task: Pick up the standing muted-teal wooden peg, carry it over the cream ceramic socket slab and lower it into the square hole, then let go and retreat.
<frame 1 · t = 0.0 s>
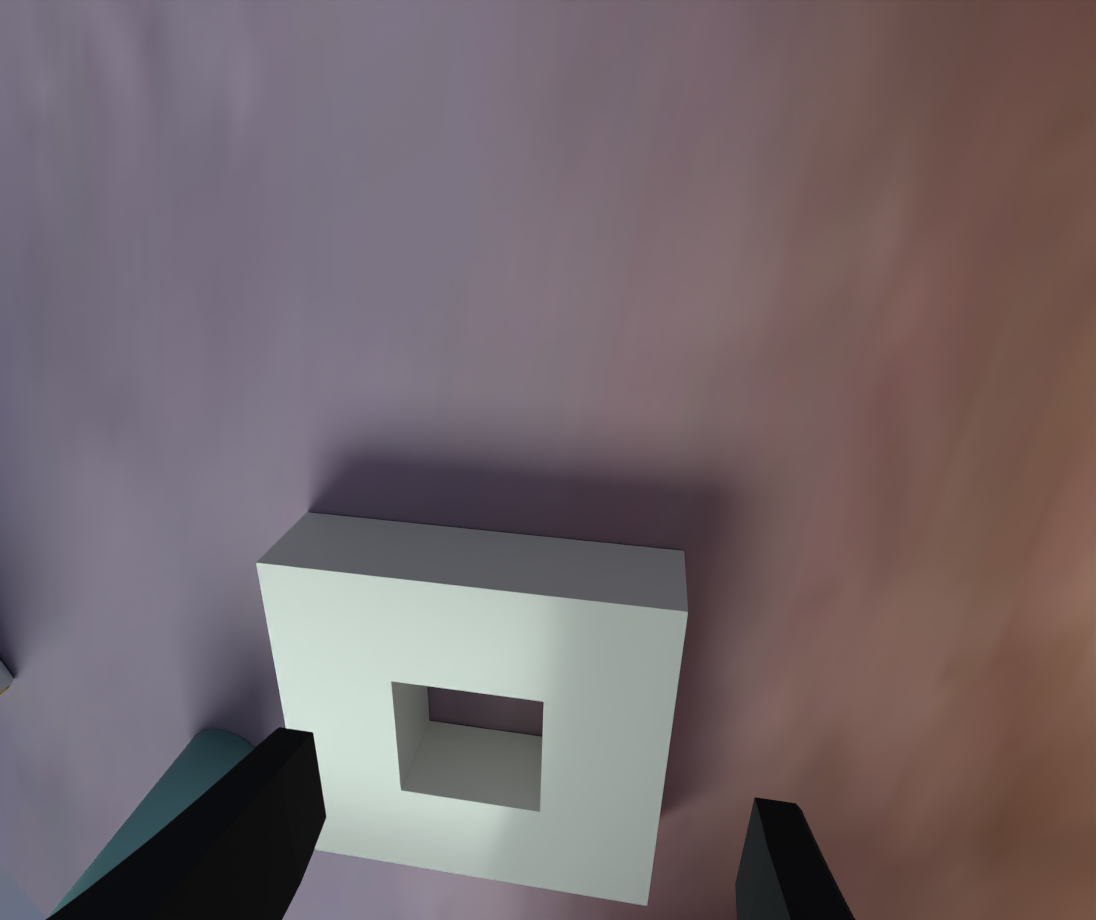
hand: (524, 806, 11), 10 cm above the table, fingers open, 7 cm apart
peg: (227, 759, 27), on the table
socket slab: (490, 680, 23), on the table
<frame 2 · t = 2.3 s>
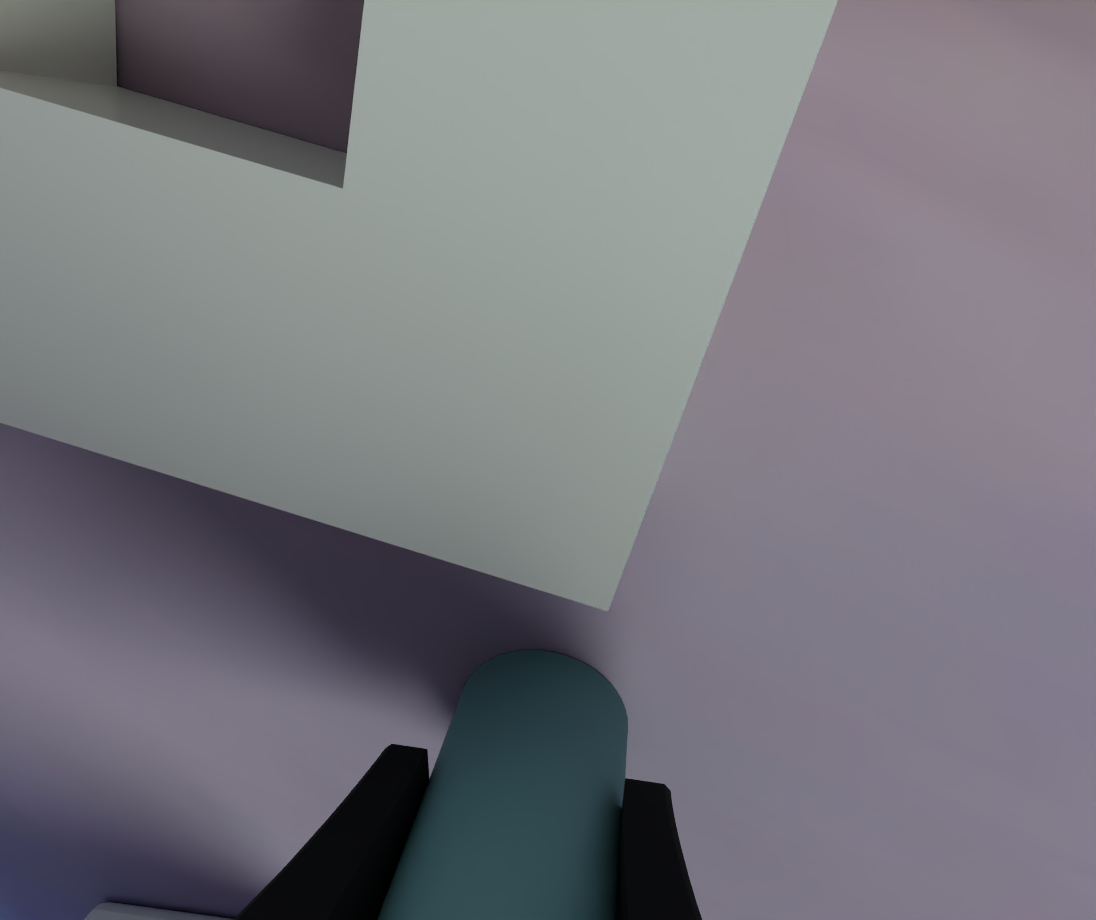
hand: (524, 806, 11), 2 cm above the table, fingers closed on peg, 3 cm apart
peg: (542, 717, 13), on the table, touching gripper
when the fingers open (4 cm above the table, at t = 5.4 s): peg drops 2 cm, resting in socket slab.
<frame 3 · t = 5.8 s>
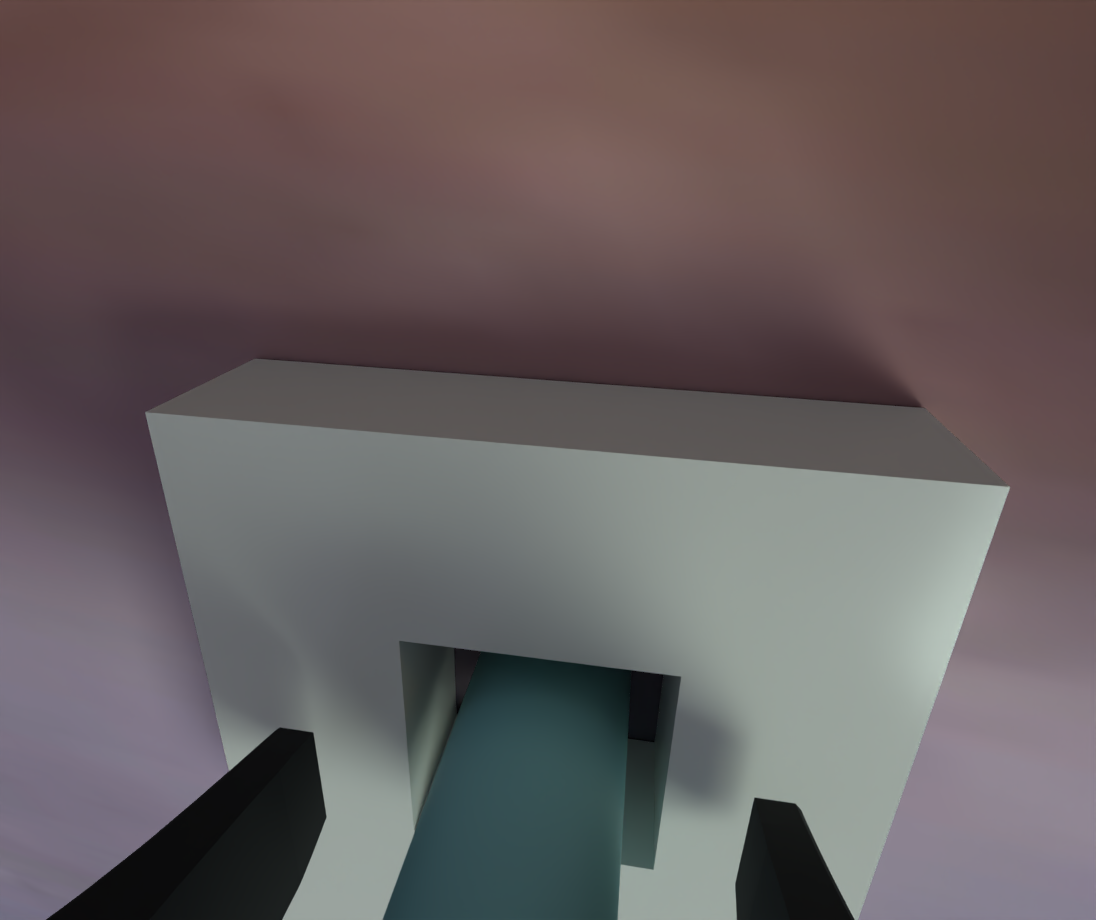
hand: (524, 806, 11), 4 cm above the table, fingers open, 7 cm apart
peg: (557, 655, 14), resting in socket slab
socket slab: (557, 648, 14), on the table
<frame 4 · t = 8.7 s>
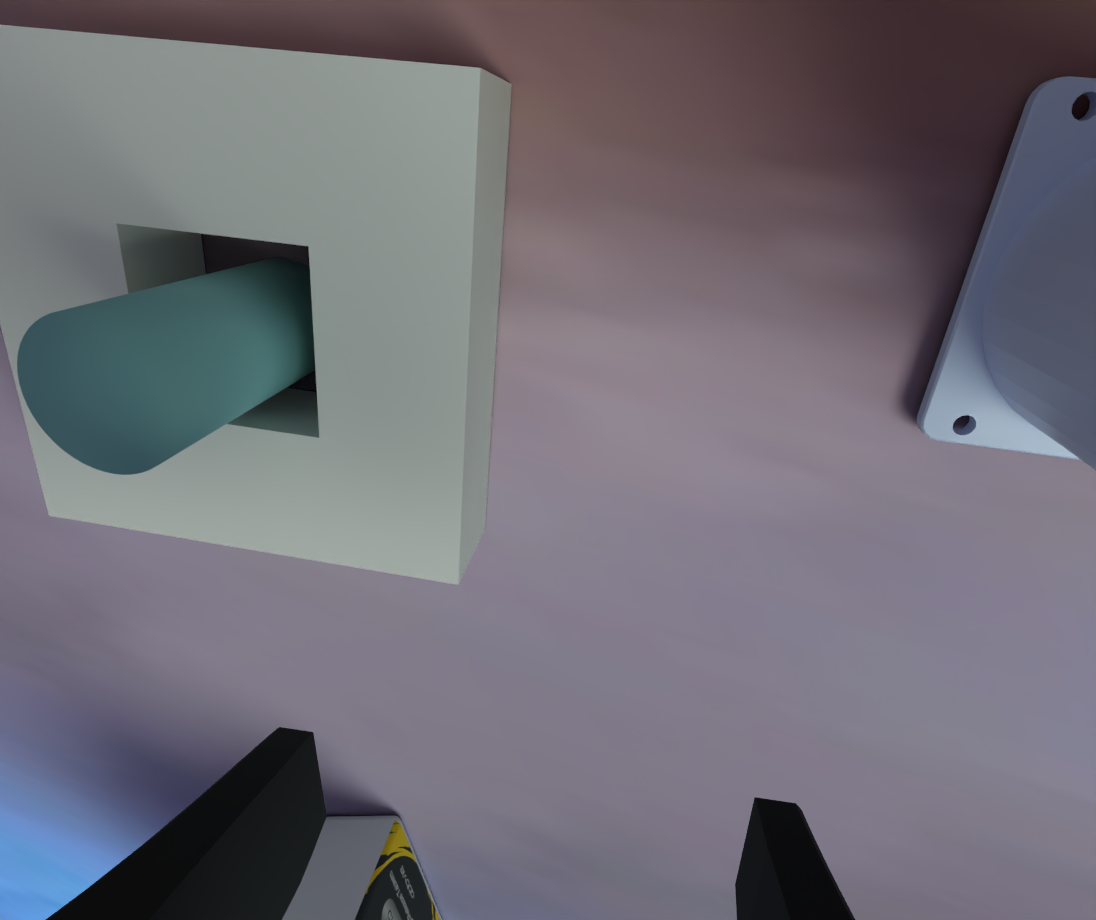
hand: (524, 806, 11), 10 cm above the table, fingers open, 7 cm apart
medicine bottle: (351, 866, 29), on the table
peg: (287, 317, 19), resting in socket slab
socket slab: (286, 310, 19), on the table
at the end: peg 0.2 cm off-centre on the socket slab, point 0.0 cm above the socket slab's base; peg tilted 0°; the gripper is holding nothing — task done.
